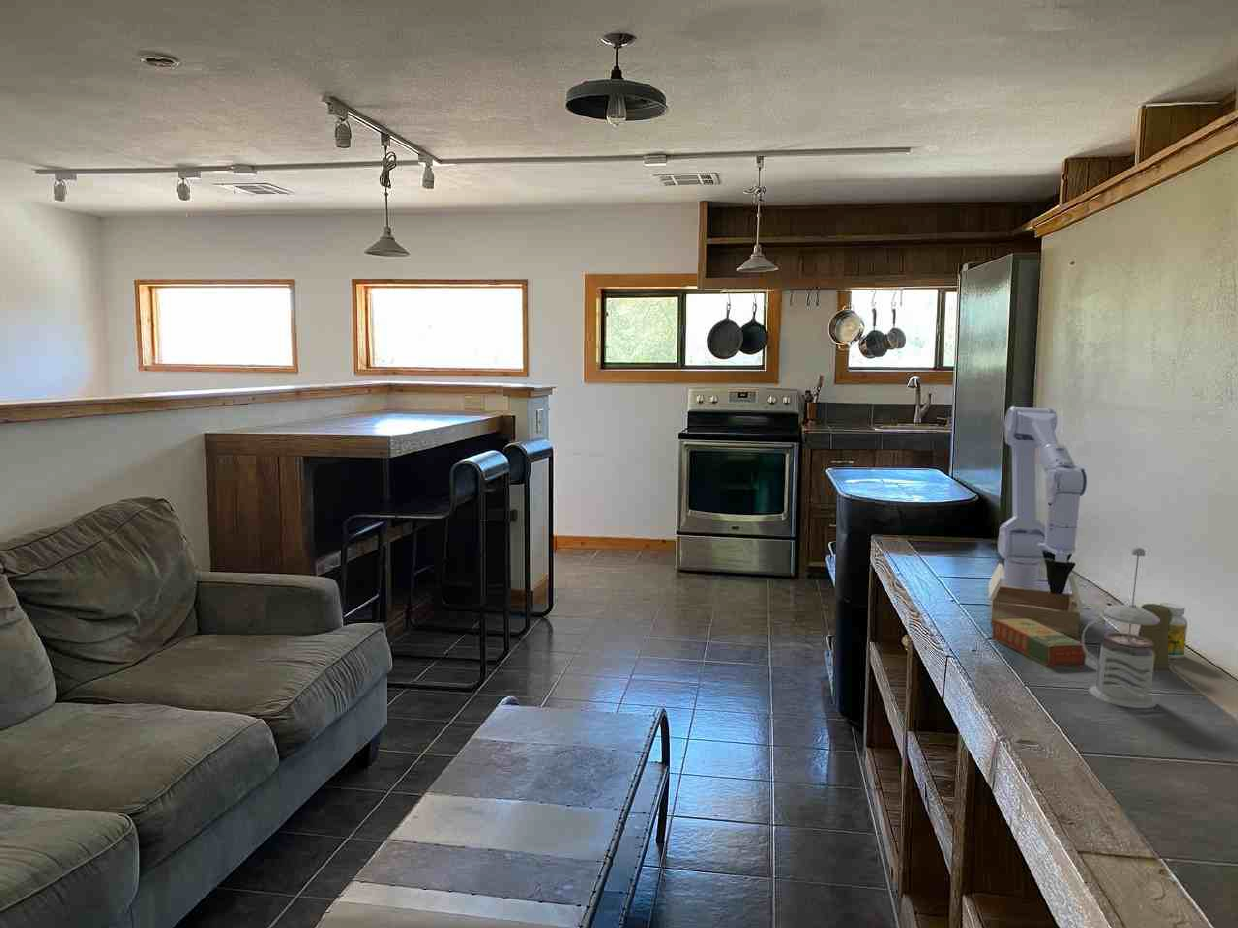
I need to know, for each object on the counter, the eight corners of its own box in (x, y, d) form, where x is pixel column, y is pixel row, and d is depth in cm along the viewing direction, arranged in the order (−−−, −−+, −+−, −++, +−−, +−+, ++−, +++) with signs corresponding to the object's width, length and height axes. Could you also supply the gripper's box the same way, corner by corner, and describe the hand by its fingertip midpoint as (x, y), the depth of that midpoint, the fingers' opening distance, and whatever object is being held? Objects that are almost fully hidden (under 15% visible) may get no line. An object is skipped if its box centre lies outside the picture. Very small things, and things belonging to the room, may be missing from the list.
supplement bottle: (1184, 654, 172) (1190, 605, 171) (1182, 661, 168) (1188, 611, 167) (1152, 647, 175) (1157, 599, 174) (1148, 654, 171) (1154, 605, 170)
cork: (1155, 671, 162) (1163, 611, 160) (1123, 660, 167) (1130, 602, 165) (1176, 667, 164) (1183, 608, 163) (1144, 656, 170) (1150, 599, 168)
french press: (1155, 713, 142) (1174, 557, 139) (1073, 695, 148) (1089, 546, 145) (1157, 694, 150) (1175, 547, 147) (1079, 678, 156) (1095, 537, 153)
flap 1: (992, 584, 199) (988, 582, 199) (1002, 564, 198) (999, 563, 198) (993, 600, 185) (989, 599, 186) (1004, 579, 184) (1000, 577, 185)
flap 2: (1066, 572, 193) (1070, 571, 193) (1073, 594, 193) (1077, 593, 193) (1072, 587, 180) (1077, 587, 179) (1079, 612, 180) (1084, 611, 179)
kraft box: (990, 606, 200) (992, 584, 200) (1070, 616, 194) (1072, 594, 194) (990, 625, 186) (993, 602, 185) (1077, 637, 180) (1080, 613, 179)
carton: (1028, 638, 179) (1030, 617, 179) (1086, 666, 164) (1088, 643, 163) (991, 639, 178) (993, 618, 177) (1046, 668, 162) (1049, 645, 162)
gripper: (1038, 517, 194) (1032, 579, 196) (1042, 528, 181) (1035, 594, 182) (1074, 521, 192) (1068, 583, 193) (1081, 532, 178) (1074, 599, 180)
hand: (1054, 589), depth 188 cm, fingers open, 7 cm apart
